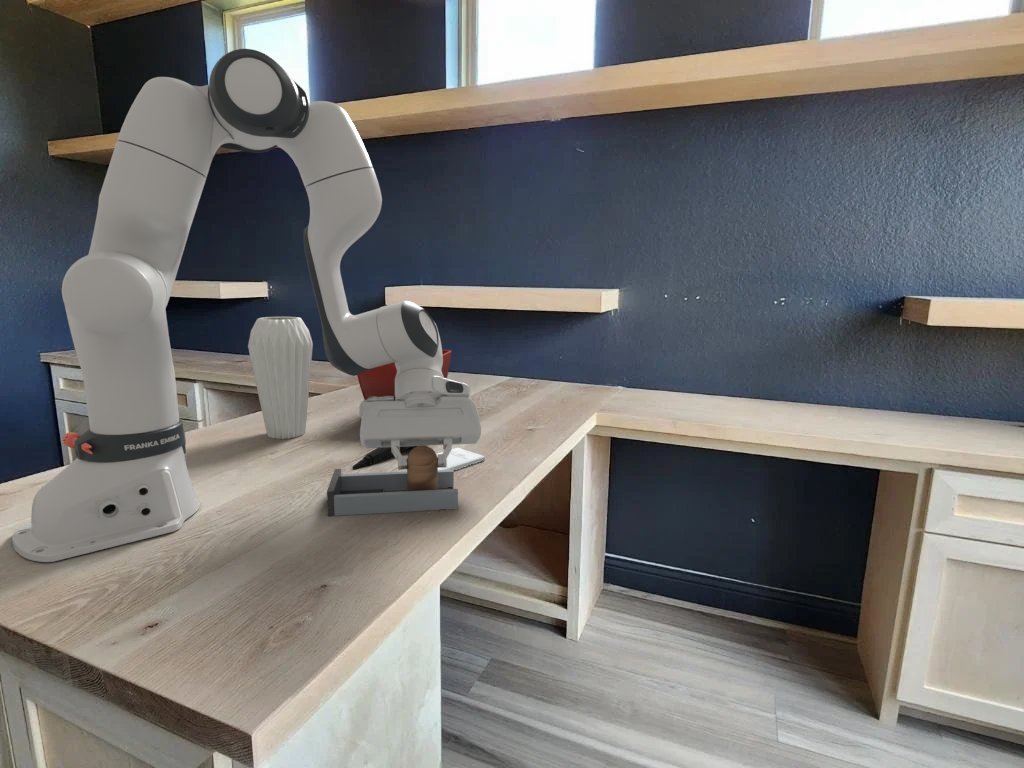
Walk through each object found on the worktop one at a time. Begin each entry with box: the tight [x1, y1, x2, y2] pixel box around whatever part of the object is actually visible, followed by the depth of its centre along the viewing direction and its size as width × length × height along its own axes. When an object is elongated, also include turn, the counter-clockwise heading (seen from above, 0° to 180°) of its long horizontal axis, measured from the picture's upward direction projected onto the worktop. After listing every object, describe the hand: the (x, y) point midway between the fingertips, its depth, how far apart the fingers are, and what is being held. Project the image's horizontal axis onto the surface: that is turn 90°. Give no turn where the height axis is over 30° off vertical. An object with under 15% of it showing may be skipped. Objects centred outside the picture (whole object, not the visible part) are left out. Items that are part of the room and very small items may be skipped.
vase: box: [247, 316, 314, 440], centre depth 126 cm, size 13×13×26 cm
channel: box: [326, 468, 459, 517], centre depth 93 cm, size 20×10×4 cm, turn 100°
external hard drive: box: [436, 447, 486, 471], centre depth 112 cm, size 2×8×12 cm
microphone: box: [352, 446, 417, 470], centre depth 115 cm, size 6×6×20 cm
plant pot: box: [356, 349, 452, 402], centre depth 142 cm, size 19×19×17 cm
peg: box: [406, 446, 439, 491], centre depth 94 cm, size 5×5×8 cm
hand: (422, 467), depth 93 cm, fingers closed on peg, 5 cm apart
